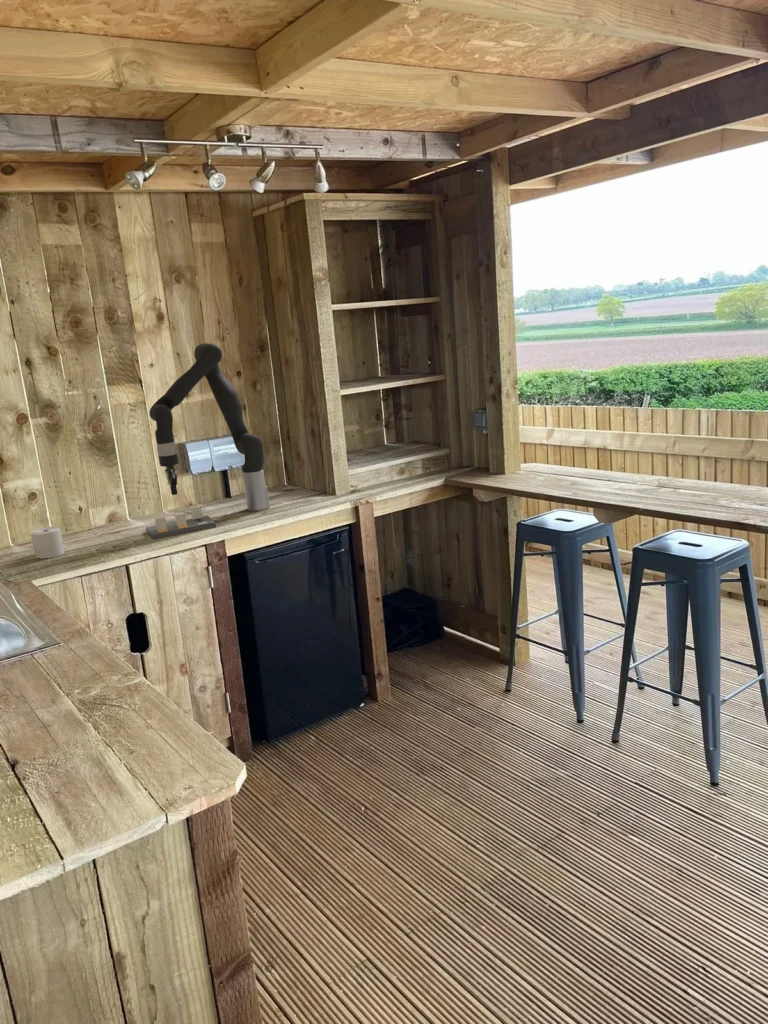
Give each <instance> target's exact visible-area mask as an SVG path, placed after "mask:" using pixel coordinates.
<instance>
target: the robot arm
mask: <svg viewBox="0 0 768 1024" xmlns="http://www.w3.org/2000/svg"><path fill="white" fill-rule="evenodd" d="M193 354H194V355H193V356H194V359H195V363H194V364H193V365H192V366H191V367H190V368H189V369H188V370H187V371H185V372H184V373H183V374H182V375H180V377H178V378H177V379H176V380H175V381H174V383H172V385H171V386H170V387H169V388H168V389H167V391H166V392H165V394H164V395H162V396H161V397H159V399H157V400H156V401H155V402H154V403H153V404H152V405H151V407H150V409H149V417H150V419H151V420H152V421H155V423H156V429H155V432H154V433H155V434H154V435H155V440H156V448H157V449H156V451H157V455H158V456H157V457H158V463H159V466H160V467H162V468H163V467H165V469H164V473H165V475H166V479H167V483H168V485H169V487H170V492H171V495H172V496H177V495H178V489H177V486H178V474H177V469H176V468H175V465H176V466H177V465H178V464H179V457H178V451H177V446H176V442H175V438H174V431H173V429H174V428H173V426H174V422H173V420H174V419H173V413H172V410H173V409H174V408H175V407H177V406H179V405H180V404H181V403H182V402H183V401H185V398H187V396H188V395H189V393H190V392H191V391H192V390H193V389H194V388H195V386H196V385H198V383H199V382H200V381H201V380H202V379H203V378H204V377H205V379H206V380H207V383H208V385H209V388H210V389H211V392H212V395H213V396H214V400H215V402H216V404H217V406H218V408H219V410H220V413H221V414H222V417H223V418H224V420H225V422H226V426H228V429H229V432H230V434H231V437H232V440H233V443H234V446H235V448H236V450H237V451H238V453H240V454H242V455H243V456H244V463H243V464H242V465H241V472H242V479H243V487H244V493H245V501H246V509H247V511H251V512H252V511H253V512H256V511H263V510H267V509H268V508H269V509H270V499H269V491H268V486H266V480H265V479H266V478H265V470H264V464H265V456H264V454H265V453H264V446H263V441H262V439H261V438H260V436H258V435H255V434H251V433H250V432H249V430H248V428H247V426H246V424H245V422H244V418H243V417H244V416H243V406H242V402H241V399H240V397H239V395H238V393H237V391H236V389H235V387H234V386H233V385H232V383H231V382H230V381H229V380H228V379H227V377H226V376H225V375H224V373H223V372H222V370H221V368H220V365H219V363H220V362H221V360H222V357H223V352H222V348H220V347H219V345H217V344H214V343H207V342H206V343H200V344H198V345H196V347H195V349H194V353H193Z"/></svg>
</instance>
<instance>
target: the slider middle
mask: <svg viewBox="0 0 768 1024" xmlns="http://www.w3.org/2000/svg"><path fill="white" fill-rule="evenodd" d="M174 517H175V518H174V519H175V522H176V525H177V526H178V527H181V526H186V525H187V523H186V519H187V518H186V513H185V512H184V511H183V512H177V513H174Z"/></svg>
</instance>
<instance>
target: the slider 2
mask: <svg viewBox="0 0 768 1024" xmlns="http://www.w3.org/2000/svg"><path fill="white" fill-rule="evenodd" d="M190 512H191V518H193V519H194V520H195V519H200V518H202V516H203V514H202V508H201V506H200V505H199V504H198V505H193V506H190Z"/></svg>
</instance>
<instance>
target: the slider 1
mask: <svg viewBox="0 0 768 1024" xmlns="http://www.w3.org/2000/svg"><path fill="white" fill-rule="evenodd" d="M154 520H155V525H156V527H157V530H158V531H160V530H165V529H167V526H166V523H167V520H166V517H165V515H162V516H161V515H160V516H155V517H154Z"/></svg>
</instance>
